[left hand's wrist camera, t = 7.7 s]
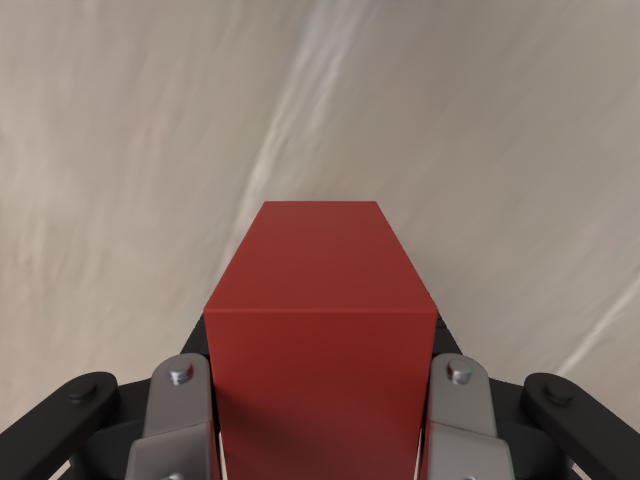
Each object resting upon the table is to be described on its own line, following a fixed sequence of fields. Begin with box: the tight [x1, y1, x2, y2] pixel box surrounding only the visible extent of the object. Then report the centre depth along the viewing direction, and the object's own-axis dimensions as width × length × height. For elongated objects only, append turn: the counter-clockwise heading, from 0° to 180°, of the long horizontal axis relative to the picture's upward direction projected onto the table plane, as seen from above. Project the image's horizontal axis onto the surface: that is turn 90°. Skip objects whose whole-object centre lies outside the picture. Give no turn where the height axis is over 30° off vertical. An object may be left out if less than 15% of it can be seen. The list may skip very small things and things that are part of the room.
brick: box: [203, 201, 438, 480], centre depth 12 cm, size 5×6×8 cm
